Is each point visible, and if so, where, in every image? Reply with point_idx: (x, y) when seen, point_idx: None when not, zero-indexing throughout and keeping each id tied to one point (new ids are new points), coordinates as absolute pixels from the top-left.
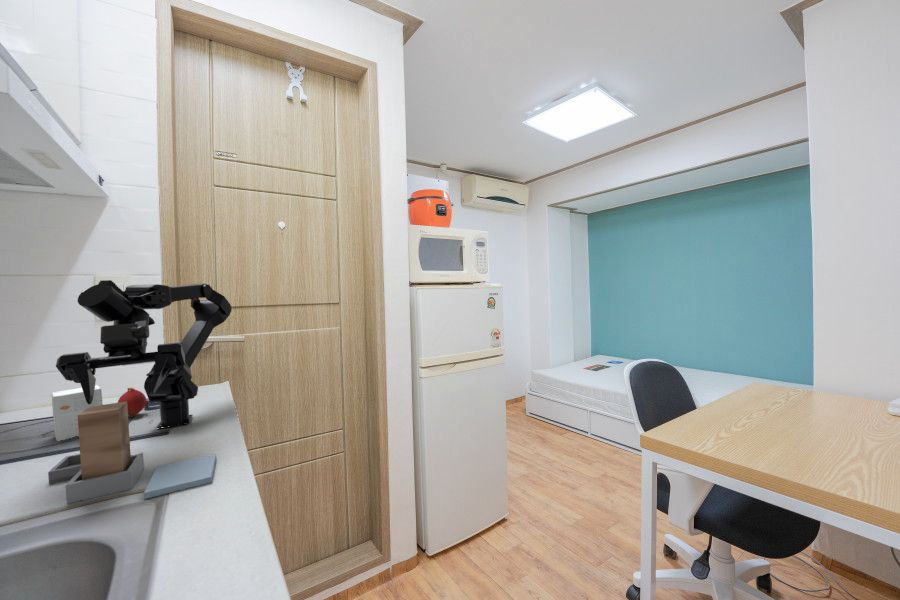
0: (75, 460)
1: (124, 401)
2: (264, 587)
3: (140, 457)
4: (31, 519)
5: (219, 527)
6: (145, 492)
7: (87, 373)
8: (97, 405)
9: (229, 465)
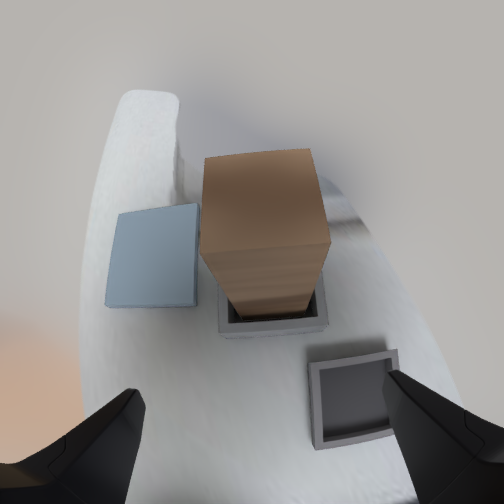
0: (381, 428)
1: None
2: (128, 91)
3: (218, 309)
4: (337, 218)
5: (133, 134)
6: (195, 203)
7: (489, 460)
8: None
9: (97, 266)
